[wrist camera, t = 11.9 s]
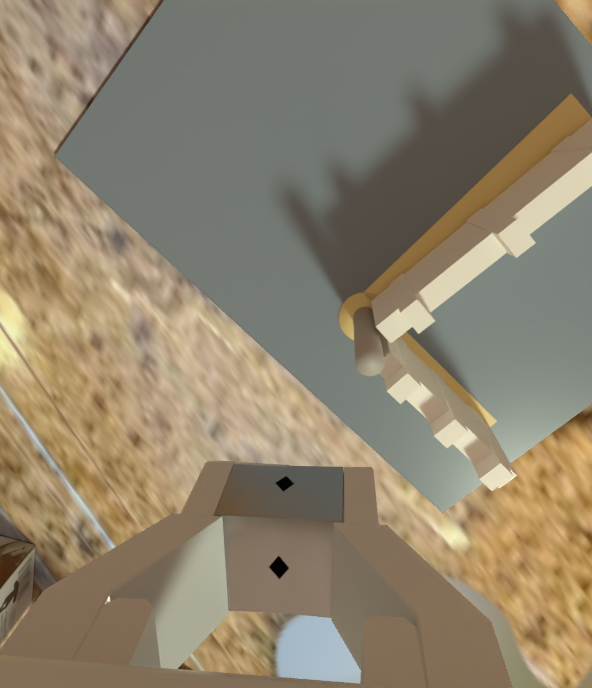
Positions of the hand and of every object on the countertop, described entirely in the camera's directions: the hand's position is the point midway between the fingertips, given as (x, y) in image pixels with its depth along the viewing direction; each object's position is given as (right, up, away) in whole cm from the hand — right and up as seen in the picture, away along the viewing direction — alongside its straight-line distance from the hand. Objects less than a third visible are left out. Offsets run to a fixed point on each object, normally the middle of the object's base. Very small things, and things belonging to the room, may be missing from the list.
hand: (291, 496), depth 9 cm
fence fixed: (+8, +1, +23) cm, 24 cm away
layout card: (+6, +11, +20) cm, 23 cm away
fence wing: (+10, +10, +19) cm, 24 cm away
